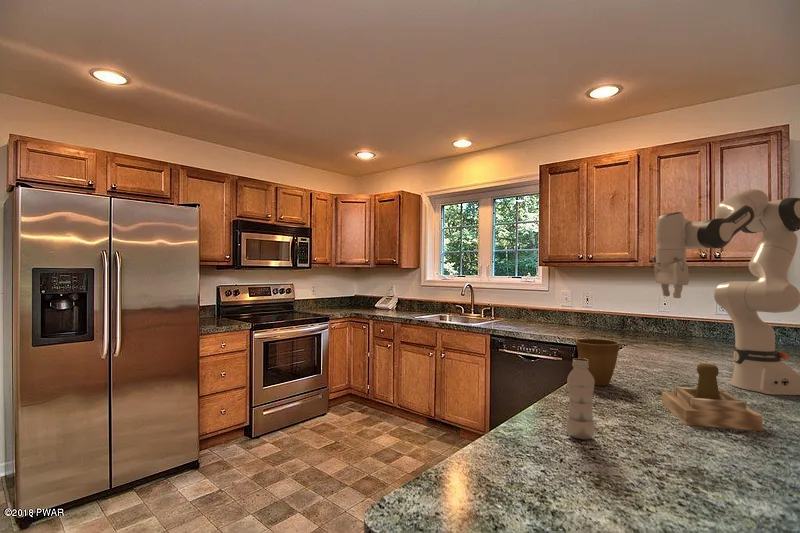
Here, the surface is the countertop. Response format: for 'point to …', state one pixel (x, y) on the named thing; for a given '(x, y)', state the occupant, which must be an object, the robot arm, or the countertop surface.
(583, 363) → the plastic bottle
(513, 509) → the countertop surface
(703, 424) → the display stand
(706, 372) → the cork
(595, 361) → the plant pot
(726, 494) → the countertop surface
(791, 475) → the countertop surface
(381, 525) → the countertop surface
